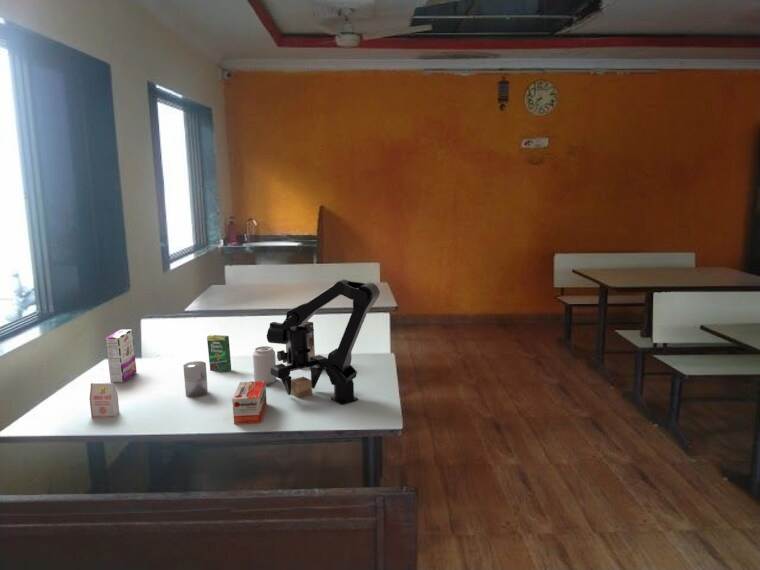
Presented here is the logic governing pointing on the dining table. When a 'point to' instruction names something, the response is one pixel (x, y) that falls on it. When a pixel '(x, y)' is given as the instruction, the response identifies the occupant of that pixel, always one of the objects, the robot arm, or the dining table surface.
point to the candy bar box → (121, 356)
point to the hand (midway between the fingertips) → (301, 391)
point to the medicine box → (249, 402)
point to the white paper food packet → (103, 400)
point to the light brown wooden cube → (301, 387)
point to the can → (264, 364)
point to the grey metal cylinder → (195, 379)
